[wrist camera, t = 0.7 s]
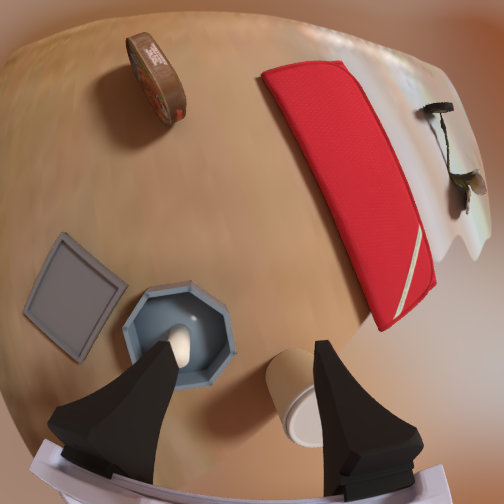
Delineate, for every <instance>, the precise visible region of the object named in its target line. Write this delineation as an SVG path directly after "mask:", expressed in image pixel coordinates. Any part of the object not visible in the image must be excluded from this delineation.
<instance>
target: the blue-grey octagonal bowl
mask: <svg viewBox="0 0 504 504" xmlns="http://www.w3.org/2000/svg"><path fill="white" fill-rule="evenodd" d="M178 323H181V324H184V325H186V326H187V327H188V328H189V330H190V355H189V362H188V364H187V365H186V366H184V367H182V368H179V372H178V377H177V381H176V385H175V388H174V391H176V390H184V389H191V388H198V387H205V386H212V384H213V383H214V382H215V381H216V379H217V378H218V377H219V375H220V374H221V373H222V372H223V370H224V369H225V368H226V367H227V365H228V364H229V363H230V361H231V360H232V359H233V357H234V356H235V355H236V354H237V353H236V349H235V344H234V338H233V333H232V327H231V321H230V316H229V311H228V309H227V307H226V305H225V304H224V303H222V302H221V301H219V300H218V299H217V298H215V297H214V296H212V295H211V294H209V293H208V292H207V291H205V290H204V289H202V288H201V287H199V286H198V285H197V284H195V283H194V282H192V281H191V280H190V281H186V282H179V283H173V284H167V285H160V286H154V287H150V288H149V289H148V290H147V291H146V292H144V295H143V296H142V298H141V299H140V301H139V302H138V304H137V305H136V307H135V309H134V310H133V312H132V313H131V315H130V316H129V318H128V320H127V321H126V323H125V324H124V326H123V327H122V330H123V333H124V337H125V341H126V344H127V348H128V351H129V355H130V358H131V361H132V365H133V364H134V363H136V362H137V361H138V360H139V359H140V358H141V357H142V356H143V355H144V354H145V353H146V352H147V351H148V350H149V349H151V348H152V347H153V346H154V345H155V344H156V343H157V342H158V341H168V337H169V334H170V330H171V328H172V326H174V325H175V324H178ZM226 340H227V341H226Z"/></svg>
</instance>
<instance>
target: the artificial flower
mask: <svg viewBox="0 0 504 504" xmlns="http://www.w3.org/2000/svg"><path fill="white" fill-rule="evenodd" d="M423 108H425V111H426V113H440V116H441V113H446V112H448V111H449V112H451V111H454V108H453V104H452V103H448V102H441V103H433V104H428V105H426V106H425V107H424V106H423ZM440 123H441V128H442V129H443V131H444V133H445V139H446V145H447V169H448V173H449V175H450V176H451V177H452V179H453V181H454V182H455V183H456V184H457V185H461V186H463V187H464V189H465V194H466V193H467V206H466V207H467V210H466V214H467V215H468V213H469V212H468V211H469V203H470V196H471V192H470V188H469V186H468V185H470V186H471V188H472V190H473V191H474V193H476V194H477V195H479V194H482V195H483V194H485V193H486V192H487V189H486V187H485V182H484V180H483V178H482V176H481V173H480V170H479V169H475V170H474V171H472V172H469V173H467V174H462V175H460V174H452V173H450V167H449V143H448V139H447V132H446V126H445V124H444V120H443V118H442V116H441V122H440Z"/></svg>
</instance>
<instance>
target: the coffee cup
mask: <svg viewBox="0 0 504 504" xmlns="http://www.w3.org/2000/svg"><path fill="white" fill-rule="evenodd" d="M313 362H314V355H313V354H311V353H309V352H308V351H306V350H303V349H289V350H286V351H283V352H281V353H280V354H278V355H277V356H276V357H274V359H273V360H272V361H271V362H270V363H269V365H268V367H267V370H266V374H265V380H266V384H267V387H268V390H269V392H270V395H271V398H272V400H273V403H274V405H275V408H276V410H277V413H278V415H279V417H280V420H281V422H282V424H283V429H284V432H285V434H286V436H287V437H288V438H289V439H290V440H291V441H292V442H294V443H296V444H298V445H300V446H303V447H309V448H315V447H321V446H323V438H322V427H321V420H320V415H319V410H318V405H317V400H316V394H315V389H314V379H313Z"/></svg>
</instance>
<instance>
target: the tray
mask: <svg viewBox="0 0 504 504" xmlns="http://www.w3.org/2000/svg"><path fill="white" fill-rule="evenodd" d="M128 286H129V285H128V284H127V283H125V282H124V281H123V280H122V279H120V278H119V277H118V276H116V275H115V274H114V273H113V272H111V271H110V270H109V269H108V268H107V267H105V266H104V265H103V264H102V263H101V262H99V261H98V260H97V259H96V258H95V257H93V256H92V255H91V254H90V253H89V252H88V251H86V250H85V249H84V248H83V247H82V246H81V245H80V244H78V243H77V242H76V241H75V240H74V239H73V238H72V237H71V236H70V235H68V234H67V233H64V232H61V233H60V235H59V237H58V239H57V240H56V242H55V244H54V246H53V248H52V250H51V251H50V253H49V255H48V257H47V259H46V261H45V263H44V265H43V267H42V269H41V271H40V273H39V276H38V278H37V280H36V282H35V284H34V286H33V289H32V291H31V293H30V296H29V298H28V301H27V303H26V305H25V308H24V311H23V313H24V314H25V315H26V316H27V317H28V318H29V319H30V320H31V321H32V322H33V323H34V324H35V325H36V326H37V327H38V328H39V329H41V330H42V331H43V332H44V333H45V334H46V335H47V336H48V337H49V338H50V339H51V340H52V341H54V342H55V343H56V344H57V345H58V346H59V347H60V348H62V349H63V350H64V351H65V352H66V353H68V354H69V355H70V356H71V357H72V358H74V359H75V360H76V361H77V362H79V363H80V364H82V362H83V361H84V360H85V359H86V357H87V355H88V353H89V351H90V349H91V348H92V346H93V344H94V342H95V340H96V339H97V337H98V335H99V333H100V332H101V330H102V328H103V326H104V325H105V323H106V321H107V320H108V318H109V316H110V315H111V313H112V311H113V310H114V308H115V306H116V305H117V303H118V301H119V300H120V298H121V297H122V295H123V293H124V292H125V290H126V289H127V287H128Z"/></svg>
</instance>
